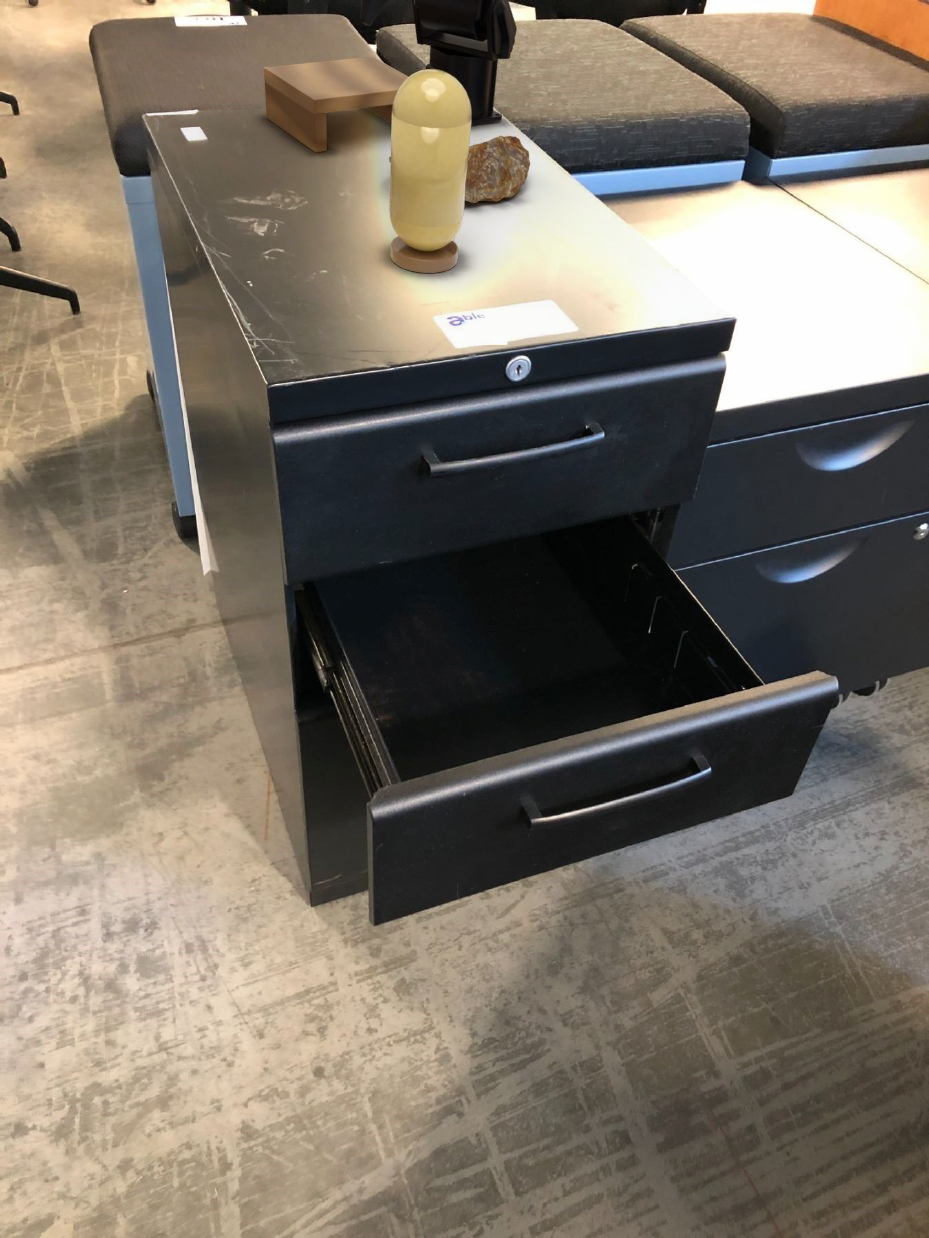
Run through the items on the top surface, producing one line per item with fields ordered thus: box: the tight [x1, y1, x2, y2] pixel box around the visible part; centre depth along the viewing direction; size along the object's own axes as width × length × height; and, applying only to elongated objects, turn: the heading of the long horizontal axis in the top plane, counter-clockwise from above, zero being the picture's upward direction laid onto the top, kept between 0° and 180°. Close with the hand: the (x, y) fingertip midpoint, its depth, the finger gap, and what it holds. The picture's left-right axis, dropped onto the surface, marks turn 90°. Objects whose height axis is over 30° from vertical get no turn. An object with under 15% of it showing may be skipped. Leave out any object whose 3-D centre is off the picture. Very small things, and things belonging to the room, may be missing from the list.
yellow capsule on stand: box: [388, 68, 472, 274], centre depth 71 cm, size 6×6×13 cm
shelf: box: [263, 56, 409, 153], centre depth 93 cm, size 12×10×4 cm
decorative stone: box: [388, 135, 531, 204], centre depth 85 cm, size 10×4×15 cm
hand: (311, 12), depth 72 cm, fingers open, 9 cm apart
